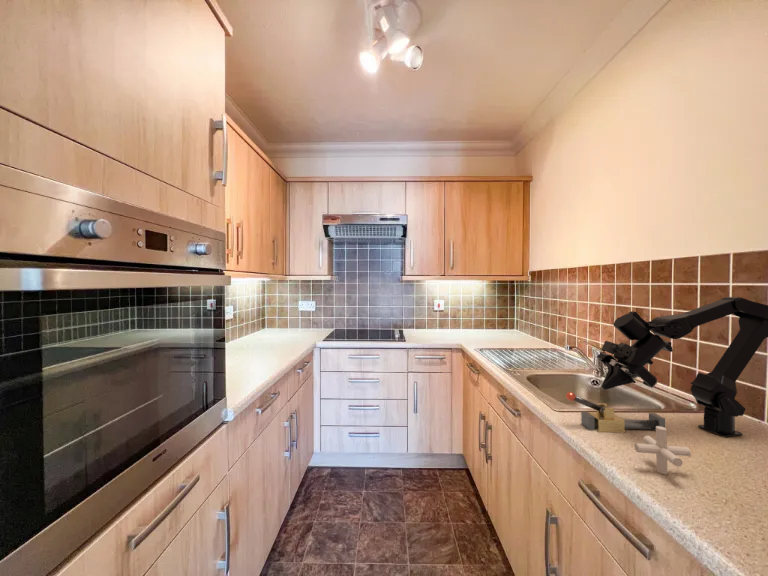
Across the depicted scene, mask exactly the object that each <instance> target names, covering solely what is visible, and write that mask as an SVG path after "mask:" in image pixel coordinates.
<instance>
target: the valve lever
mask: <svg viewBox="0 0 768 576" xmlns="http://www.w3.org/2000/svg"><path fill="white" fill-rule="evenodd" d="M565 397H566V400H567V401H569V402H576V403H578V404H581V405H583V406H586V407H588V408H591V409H592V410H595V411H596V412H597V411H600V412H601V413H602V414H603V415H604V408H608V406H607V407H606V406H601V407H600V406H599V405H597V403H594V402H592V401H589V400H587V399H585V398H582V397H580V396H578V395H576V394H575V393H574V392H571V391H569V392H568V391H567V393H566V395H565Z"/></svg>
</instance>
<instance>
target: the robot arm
mask: <svg viewBox="0 0 768 576" xmlns="http://www.w3.org/2000/svg"><path fill="white" fill-rule="evenodd" d="M730 315H733V316H735V317H737V318H738V320H737V322H738V326H739V330H738V332H737V333H736V335H735V337H734V338H733V339H732V341H731V343H730V344H729V346H728V347H727V349H726V350H725V351H724V353H723V354H722V356H721V357H720V358H719V360H718V362H717V363H716V364H715V366H714V368H713V369H712V370H711V371H710V372H708V373H706V374H705V373H701V372H698V373H697V374H696V376H695V379H694V380H693V381H691V382H690V385H691V386H690V391H691V392H690V393H691V396H692V397H693V398H694V399H695V401H696V404H697V405H700V406H703V407H704V408H703V424H699V425H697V427H698V428H700V429H702V430H704V431H707V432H710V433H713V434H715V435H718V436H721V437H722V438H723V437H724V438H729V437H734V436H736V437H737V436H742V435H743V433H742V432H740V431H738V430H736V417H739V416H740V417H743V416H744V415H745V411H746V407H744V406H743V405H742V404H741V403H740V402H739V401H737V400H736V399H735V398H736V396H737V394H738V391H737V385H736V384H737V383H736V382H737V380H738V379H739V377H740V375H741V374H742V373H743V372H744V370H745V369H746V367H747V366H748V364H749V363H750V361H751V360H752V358H754V355H755V354H756V352H757V351H758V350H759V348H760V347H761V345H762V343H763V342H764V341H765V340H766V339H767V338H768V304H764V303H761V302H760V303H759V302H756V301H751V300H749V299H747V298H744V297H740V296H725V297H722V298H721V299H718V300H715V301H713V302H711V303H708V304H704V305H702V306H699V307H697V308H694V309H692V310H688V311H685V312H683V313H678V314H668V315H667V314H666V315H662V316H656V317H655V318H653V319H652V320H649V321H646V320H644V319H643V317H641V316H640V314H639V313H638V312H637V311H629V312H628V313H626V314H624V315H621V316H620V317H617V318H616V319H615V320H614V322H613V327H614V328H615V329H617V330H618V331H619V332H620V333H621V334H622V335H623V336H624V337H625V338H627V339H628V340H629V341H634V342H633V343H632V344H631V346H630V344H628V343H625V342H620V343H619V344H618V343H614V342H611V341H608V340H605V341H604V343H603V344H602V347H601V349H600V350H601V351H603V352H600V353H598V355H596V359H597V360H599V362H601V364H603V365H604V366H605V367H606V368H607V372H606V374H605V377H604V380H603V382H602V384H601V388H602V389H603V390H604V391H605V390H609V389H614V388H616V387H620V386H625V385H628V384H635V383H637V382H636V379H637V378H640V379H641V380H642V381H643V383H642V384H643V385H644V386H647V387H649V388H651V389H653V388H654V387H655V386H656V385H657V384H658V377H656V376H655V375H654V374H653V373H651V372H650V371H649V369H647V368H646V367H645V366H647V364H648V365H649V366H652V365H653V364H654V361H653V358H654V357H656V356H657V355H658V354H660V352H662V351H666V352H671V353H672V352H673V350H674V349H673V346H672V342H671V341H667V340H664V339H663V338H666V339H671V340H679V339H682V338H683V337H685V336H687V335H689V334H691V333H692V332H693V331H694V329H695V328H697V327H700V326H701V325H704V324H707V323H710V322H713V321H715V320H719V319H721V318H724V317H728V316H730Z"/></svg>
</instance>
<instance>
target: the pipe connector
mask: <svg viewBox="0 0 768 576" xmlns="http://www.w3.org/2000/svg"><path fill="white" fill-rule="evenodd" d="M667 432H668V429H667V428H666V427H665V428H664V427H661V426H656V430H655V439H654V438H653V437H651V436H650V435H645V436H643V438H642V439H643V442H644V443H634V445H633V446H634V450H635V451H636V453H643V454H646V453H647V454H656V459H655V460H656V472H657V473H658V474H662V475H668V461H669V463H671V464H672V465H674V466H675V467H678V468H679V467H682V465H683V462H684V461H683V460H682V459H681V458H680V457H679V456H681V457H683V456H684V457H690V456H691V455H692V453H691V452H692V451H691V450H690V448H689V447H687V446H677V445H675V446H674V445H668V436H667V435H668V434H667Z"/></svg>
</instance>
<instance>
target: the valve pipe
mask: <svg viewBox="0 0 768 576" xmlns="http://www.w3.org/2000/svg"><path fill="white" fill-rule="evenodd" d="M596 404H597V405H599V406H600V407H601V406H606V407H607V408H604V415H603V414H602V413H601V412H600V411H597V410H596V411H585V410H584V411H583V410H581V411H580V414H581V418H580V419H581V420H580V421H581V422H580V423H581V425H582V426H583V427H584V428H585V429H586V430H588V431H595V430H596V432H598V433H623V434H624V433H625V432H626V431H625V430H652V431H653V430H654V431H656V426H661V427H664V428H666V418H665V417H663V416H661V415H659V414H657V413H655V412H648V419H632V418H631V419H625V418H622V417H620V416H619V415H617V414H616V413H615V408H614V407H608V403H606V402H605V403H602V402H599V403H598V402H597V403H596Z"/></svg>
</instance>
